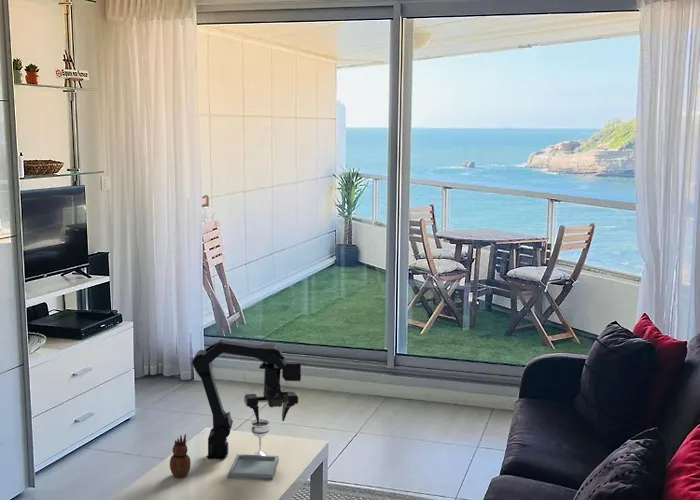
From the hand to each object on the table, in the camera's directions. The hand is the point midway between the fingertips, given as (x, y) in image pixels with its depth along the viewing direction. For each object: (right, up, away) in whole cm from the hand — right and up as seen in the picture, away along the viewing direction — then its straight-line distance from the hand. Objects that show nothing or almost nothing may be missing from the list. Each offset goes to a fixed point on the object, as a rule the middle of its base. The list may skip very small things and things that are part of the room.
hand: (270, 421), depth 275 cm
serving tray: (-5, -14, -9) cm, 18 cm away
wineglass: (-4, -13, +3) cm, 14 cm away
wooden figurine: (-29, -15, -16) cm, 36 cm away
